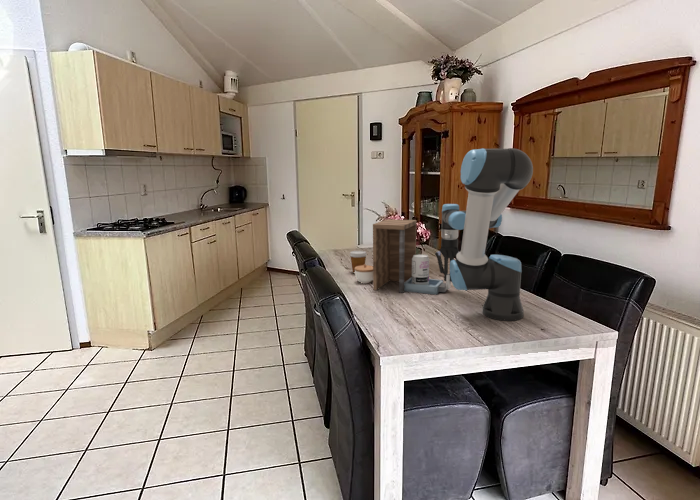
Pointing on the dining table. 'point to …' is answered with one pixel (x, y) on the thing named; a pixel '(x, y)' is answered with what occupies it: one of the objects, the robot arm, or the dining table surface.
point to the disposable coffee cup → (357, 258)
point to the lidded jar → (364, 273)
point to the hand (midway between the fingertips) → (448, 287)
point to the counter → (393, 251)
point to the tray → (426, 287)
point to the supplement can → (420, 269)
